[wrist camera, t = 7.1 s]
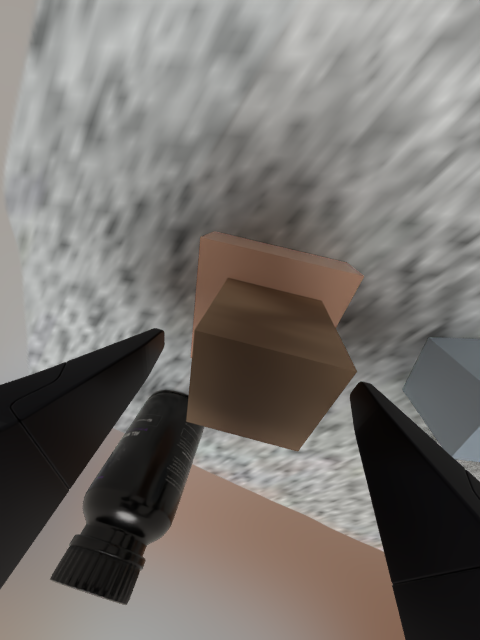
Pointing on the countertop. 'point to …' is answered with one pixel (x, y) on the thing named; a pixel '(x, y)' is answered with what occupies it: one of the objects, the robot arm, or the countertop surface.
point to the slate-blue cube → (449, 393)
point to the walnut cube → (266, 365)
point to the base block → (271, 273)
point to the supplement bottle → (132, 500)
